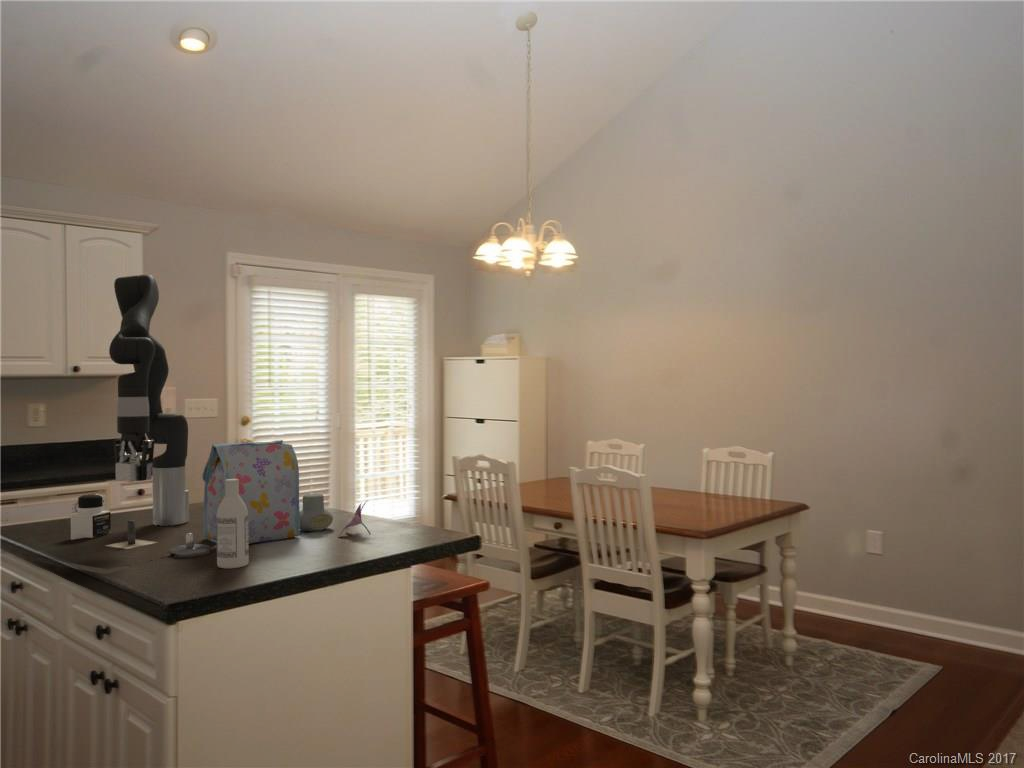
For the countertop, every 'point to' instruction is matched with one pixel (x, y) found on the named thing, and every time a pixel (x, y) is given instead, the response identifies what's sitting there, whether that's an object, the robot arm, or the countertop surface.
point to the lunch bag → (255, 488)
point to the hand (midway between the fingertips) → (133, 479)
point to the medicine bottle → (90, 518)
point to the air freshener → (314, 514)
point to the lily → (356, 519)
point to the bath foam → (232, 529)
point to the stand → (131, 539)
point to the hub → (189, 548)
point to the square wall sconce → (130, 471)
